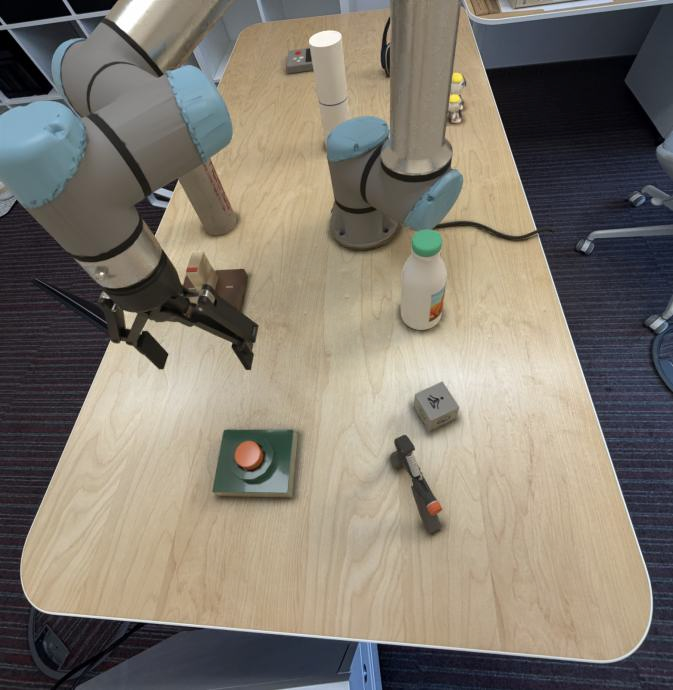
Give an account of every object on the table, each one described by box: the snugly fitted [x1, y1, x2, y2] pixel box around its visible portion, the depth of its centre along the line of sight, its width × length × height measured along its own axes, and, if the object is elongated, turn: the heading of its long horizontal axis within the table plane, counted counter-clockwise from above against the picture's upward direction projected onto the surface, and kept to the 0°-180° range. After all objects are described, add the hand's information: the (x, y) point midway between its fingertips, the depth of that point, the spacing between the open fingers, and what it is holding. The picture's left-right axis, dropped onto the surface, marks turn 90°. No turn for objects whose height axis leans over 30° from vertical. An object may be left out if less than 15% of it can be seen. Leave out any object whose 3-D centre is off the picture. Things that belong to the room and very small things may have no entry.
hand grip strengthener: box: [389, 434, 443, 536], centre depth 56 cm, size 2×12×15 cm, turn 23°
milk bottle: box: [400, 229, 448, 331], centre depth 71 cm, size 8×8×20 cm
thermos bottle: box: [177, 158, 237, 237], centre depth 88 cm, size 8×8×28 cm
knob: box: [185, 250, 218, 291], centre depth 83 cm, size 6×2×8 cm, turn 177°
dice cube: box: [413, 381, 460, 432], centre depth 67 cm, size 5×5×5 cm
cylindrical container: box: [308, 30, 351, 150], centre depth 99 cm, size 7×7×25 cm
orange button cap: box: [235, 441, 264, 470], centre depth 63 cm, size 4×4×2 cm
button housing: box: [211, 429, 299, 498], centre depth 66 cm, size 12×10×5 cm
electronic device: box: [286, 47, 314, 75], centre depth 134 cm, size 10×2×15 cm
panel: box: [182, 268, 248, 316], centre depth 87 cm, size 13×10×3 cm
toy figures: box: [448, 72, 467, 124], centre depth 108 cm, size 12×4×8 cm, turn 169°
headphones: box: [380, 16, 390, 76], centre depth 115 cm, size 20×7×18 cm, turn 54°
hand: (206, 362), depth 62 cm, fingers open, 13 cm apart
